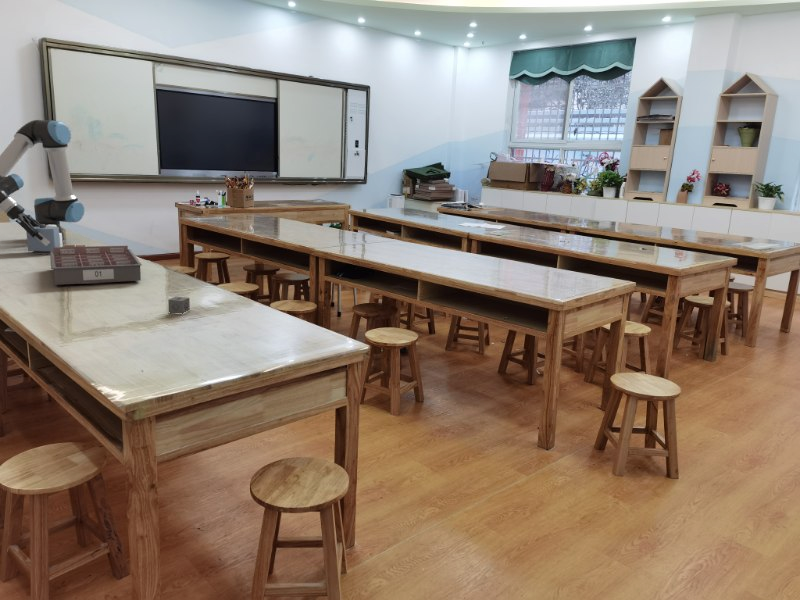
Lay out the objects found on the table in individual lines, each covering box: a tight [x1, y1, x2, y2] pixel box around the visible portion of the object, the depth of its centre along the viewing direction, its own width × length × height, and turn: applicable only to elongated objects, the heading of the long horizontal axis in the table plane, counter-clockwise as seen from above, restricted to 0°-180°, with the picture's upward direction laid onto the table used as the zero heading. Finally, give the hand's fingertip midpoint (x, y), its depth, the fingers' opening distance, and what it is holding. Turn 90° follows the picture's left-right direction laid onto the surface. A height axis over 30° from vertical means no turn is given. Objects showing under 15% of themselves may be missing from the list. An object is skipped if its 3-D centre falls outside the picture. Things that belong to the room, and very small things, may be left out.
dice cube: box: [167, 296, 191, 314], centre depth 206 cm, size 5×5×5 cm
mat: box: [28, 251, 51, 256], centre depth 299 cm, size 12×10×1 cm
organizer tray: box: [49, 245, 143, 286], centre depth 253 cm, size 32×40×10 cm
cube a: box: [63, 244, 76, 247], centre depth 301 cm, size 4×4×4 cm
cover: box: [25, 224, 60, 252], centre depth 297 cm, size 8×12×13 cm, turn 102°
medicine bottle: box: [45, 224, 64, 247], centre depth 313 cm, size 7×7×12 cm
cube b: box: [75, 244, 86, 247], centre depth 302 cm, size 4×4×4 cm
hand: (51, 242), depth 298 cm, fingers closed on cover, 8 cm apart
